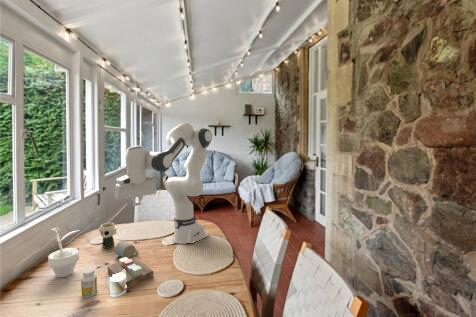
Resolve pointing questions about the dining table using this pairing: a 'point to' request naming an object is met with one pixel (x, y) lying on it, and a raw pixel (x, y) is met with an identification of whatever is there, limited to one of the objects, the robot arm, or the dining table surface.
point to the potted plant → (63, 257)
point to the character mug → (107, 234)
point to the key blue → (130, 268)
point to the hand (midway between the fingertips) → (137, 205)
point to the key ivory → (122, 261)
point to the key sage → (136, 271)
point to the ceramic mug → (125, 249)
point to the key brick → (127, 263)
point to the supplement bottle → (88, 283)
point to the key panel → (131, 281)
